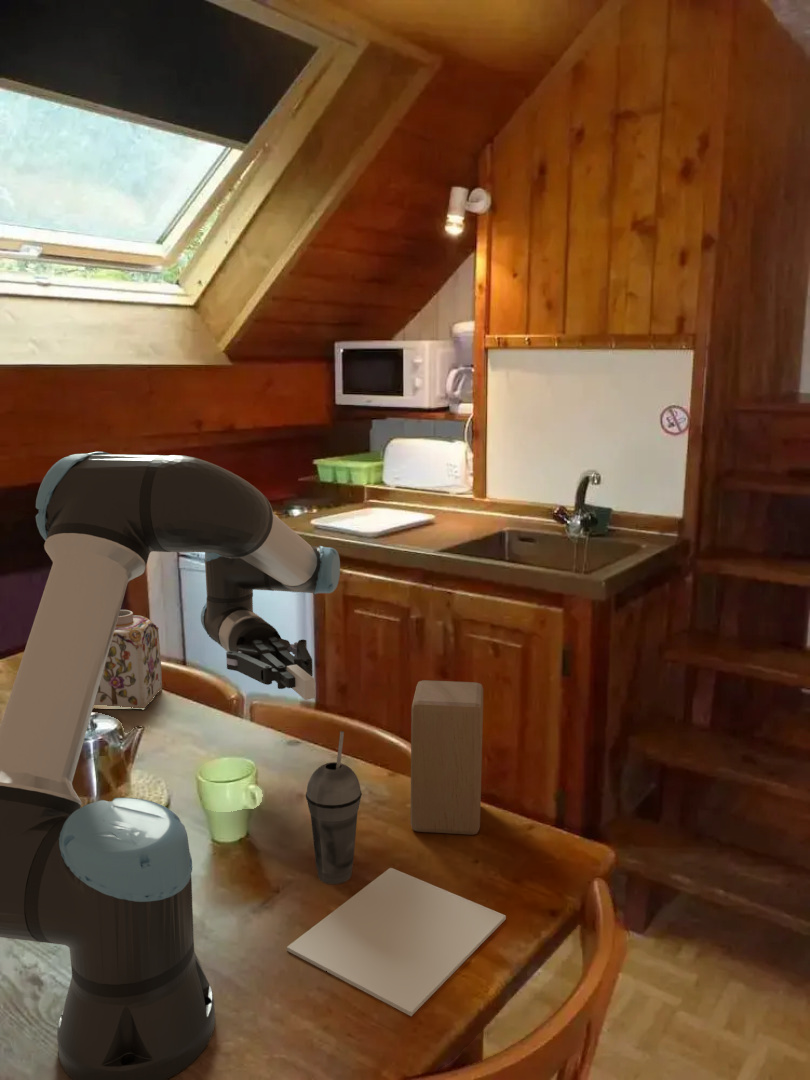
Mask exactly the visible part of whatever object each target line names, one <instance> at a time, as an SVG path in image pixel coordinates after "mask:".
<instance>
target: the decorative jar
mask: <svg viewBox="0 0 810 1080" xmlns="http://www.w3.org/2000/svg"><path fill="white" fill-rule="evenodd" d="M160 645H161V642H160V633H159V626H157V625H156V624H155V623H154V622H153V621H152V620H150V619H149V618H148V617H146V616H144V615H143V616H142V615H136V614H135V615H134V612H133V611H131V610H128V609H120V613H119V616H118V620H117V623H116V627H115V630H114V634H113V638H112V641H111V645H110V648H109V652H108V656H107V659H106V663H105V666H104V670H103V673H102V677H101V681H100V684H99V688H98V691H97V695H96V699H95V702H94V705H107V706H120V707H121V706H122V707H131V708H132V707H133V708H145V707H146V706H147V705H148V703H149V702H150V701H151V700H152V699H153V697H154V696H155V695H156V694H157V693H158V691H160V690H161V691H162V689H163V681H162V680H163V679H162V678H163V677H162V659H161V658H162V655H161V646H160ZM161 691H160V692H161ZM158 694H159V693H158ZM158 694H157V695H158ZM153 700H154V699H153ZM153 700H152V701H153ZM152 701H151V702H152ZM148 706H149V705H148ZM148 706H147V707H148ZM147 707H146V708H147ZM146 708H145V709H146Z"/></svg>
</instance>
